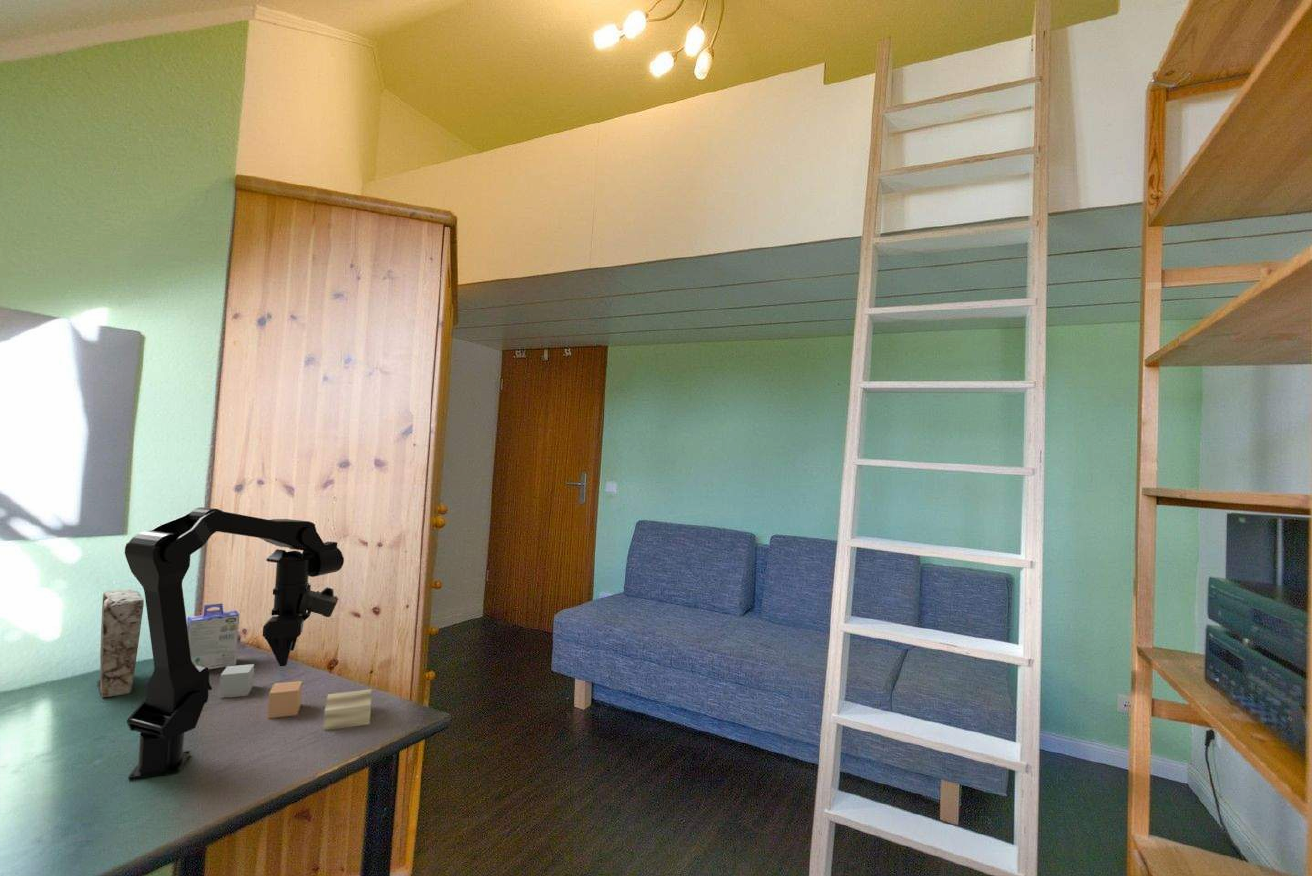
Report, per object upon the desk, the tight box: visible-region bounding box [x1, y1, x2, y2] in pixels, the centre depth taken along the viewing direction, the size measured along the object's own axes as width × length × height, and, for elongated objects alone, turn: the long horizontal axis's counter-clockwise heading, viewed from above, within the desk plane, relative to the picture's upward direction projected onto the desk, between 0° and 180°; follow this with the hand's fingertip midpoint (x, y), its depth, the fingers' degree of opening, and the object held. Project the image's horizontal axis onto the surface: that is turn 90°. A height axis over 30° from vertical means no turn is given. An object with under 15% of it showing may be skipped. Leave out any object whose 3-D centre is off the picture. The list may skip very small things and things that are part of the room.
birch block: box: [322, 688, 372, 731], centre depth 117 cm, size 8×8×4 cm
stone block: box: [96, 589, 145, 698], centre depth 125 cm, size 13×7×20 cm, turn 52°
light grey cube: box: [218, 663, 255, 699], centre depth 126 cm, size 5×5×5 cm
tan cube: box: [267, 680, 303, 719], centre depth 118 cm, size 5×5×5 cm
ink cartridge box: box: [186, 603, 240, 671], centre depth 139 cm, size 10×6×14 cm, turn 133°
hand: (287, 658), depth 119 cm, fingers open, 9 cm apart
